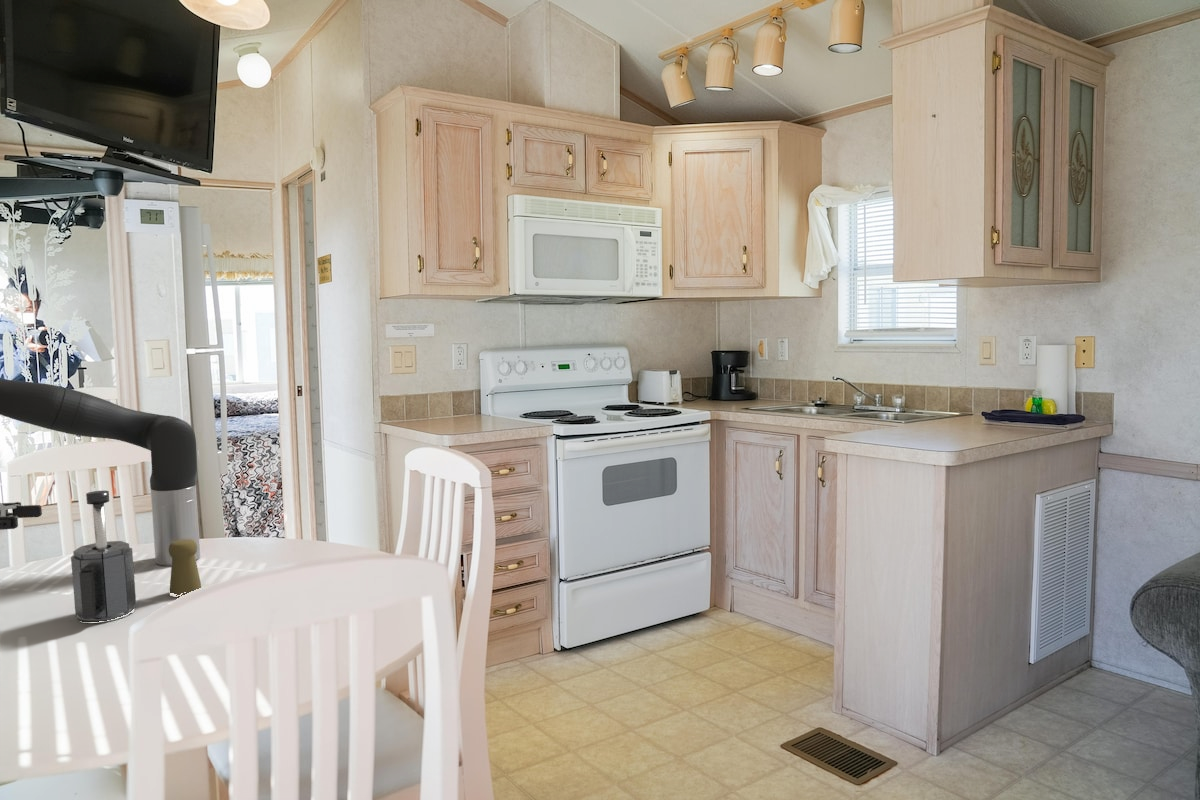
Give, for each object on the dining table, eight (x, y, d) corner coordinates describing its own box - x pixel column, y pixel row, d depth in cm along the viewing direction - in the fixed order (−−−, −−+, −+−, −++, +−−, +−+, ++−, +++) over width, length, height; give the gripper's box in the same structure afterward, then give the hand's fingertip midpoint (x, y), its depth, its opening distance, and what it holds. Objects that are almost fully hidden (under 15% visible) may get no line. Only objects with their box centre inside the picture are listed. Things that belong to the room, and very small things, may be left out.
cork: (188, 598, 164) (185, 545, 162) (162, 596, 165) (158, 543, 164) (208, 588, 170) (205, 536, 168) (183, 586, 171) (179, 535, 170)
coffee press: (90, 607, 159) (85, 541, 158) (142, 603, 161) (138, 539, 160) (60, 631, 147) (55, 560, 146) (117, 627, 149) (112, 557, 148)
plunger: (94, 596, 158) (86, 489, 156) (130, 594, 159) (122, 488, 157) (79, 608, 152) (70, 497, 149) (117, 606, 153) (108, 495, 150)
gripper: (-98, 509, 141) (6, 505, 144) (-48, 491, 155) (46, 488, 158) (-94, 551, 142) (10, 547, 145) (-44, 530, 156) (49, 526, 159)
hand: (29, 516), depth 151 cm, fingers open, 8 cm apart
